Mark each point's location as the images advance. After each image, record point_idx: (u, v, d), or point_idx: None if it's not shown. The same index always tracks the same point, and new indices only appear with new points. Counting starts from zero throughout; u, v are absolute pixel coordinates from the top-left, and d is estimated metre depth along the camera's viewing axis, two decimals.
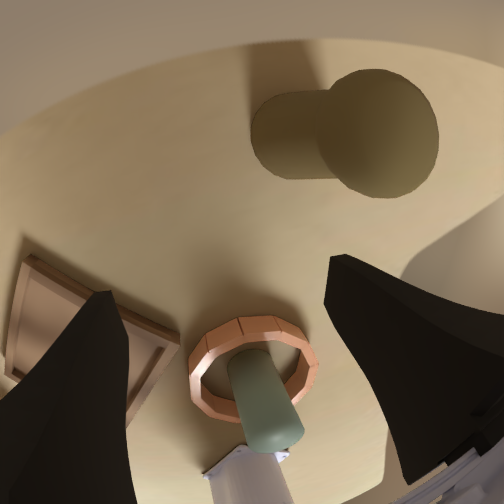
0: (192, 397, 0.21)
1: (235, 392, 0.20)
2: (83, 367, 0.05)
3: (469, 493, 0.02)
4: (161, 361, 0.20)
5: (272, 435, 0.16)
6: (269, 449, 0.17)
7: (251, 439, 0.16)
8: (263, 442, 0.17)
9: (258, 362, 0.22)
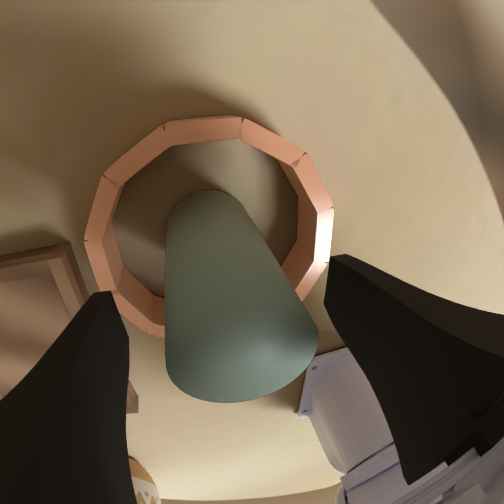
0: (141, 328, 0.13)
1: None
2: (83, 368, 0.05)
3: (469, 493, 0.02)
4: (65, 296, 0.12)
5: (219, 358, 0.07)
6: (261, 387, 0.08)
7: (180, 383, 0.07)
8: (221, 379, 0.07)
9: (186, 211, 0.11)
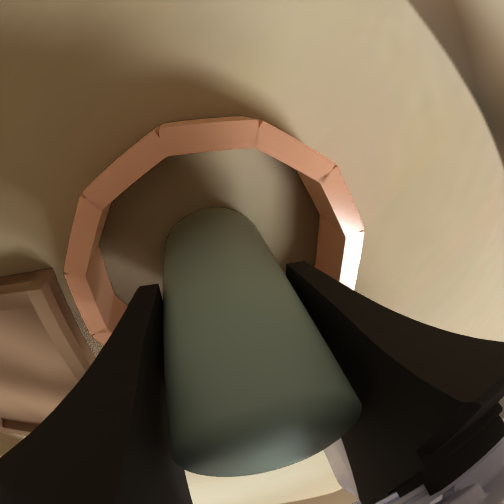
0: None
1: None
2: (146, 362, 0.05)
3: (469, 493, 0.02)
4: (50, 330, 0.10)
5: (240, 448, 0.05)
6: (286, 460, 0.06)
7: (190, 468, 0.05)
8: (240, 462, 0.05)
9: (187, 238, 0.09)
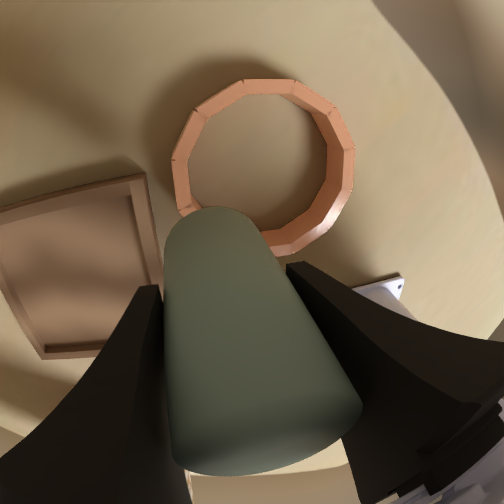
0: None
1: None
2: (146, 362, 0.05)
3: (469, 493, 0.02)
4: (139, 215, 0.16)
5: (240, 447, 0.05)
6: (286, 460, 0.06)
7: (190, 467, 0.05)
8: (241, 461, 0.05)
9: (187, 237, 0.09)
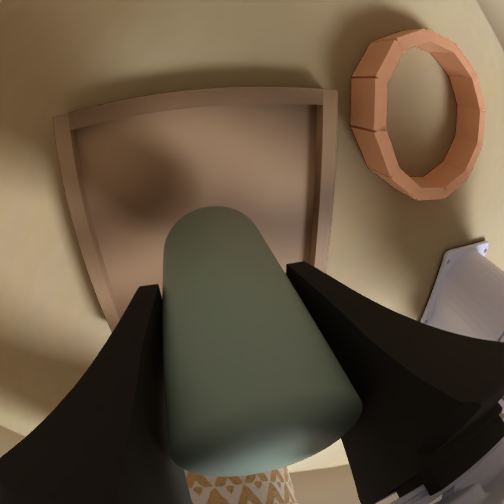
0: (389, 171, 0.14)
1: None
2: (146, 363, 0.05)
3: (469, 493, 0.02)
4: (326, 131, 0.13)
5: (239, 448, 0.05)
6: (286, 460, 0.06)
7: (189, 467, 0.05)
8: (240, 462, 0.05)
9: (187, 236, 0.09)
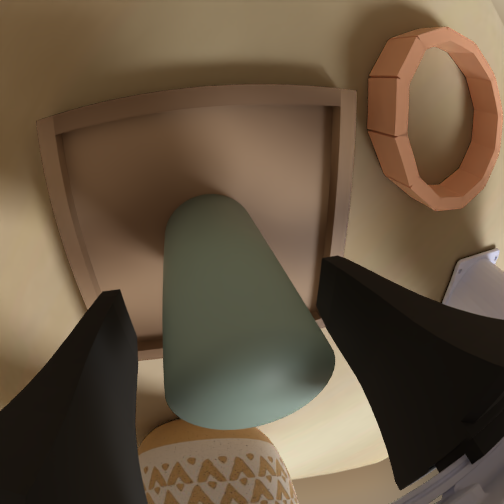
0: (409, 180, 0.12)
1: None
2: (94, 367, 0.05)
3: (469, 493, 0.02)
4: (344, 136, 0.11)
5: (225, 388, 0.06)
6: (270, 413, 0.07)
7: (181, 413, 0.06)
8: (227, 409, 0.06)
9: (185, 218, 0.10)
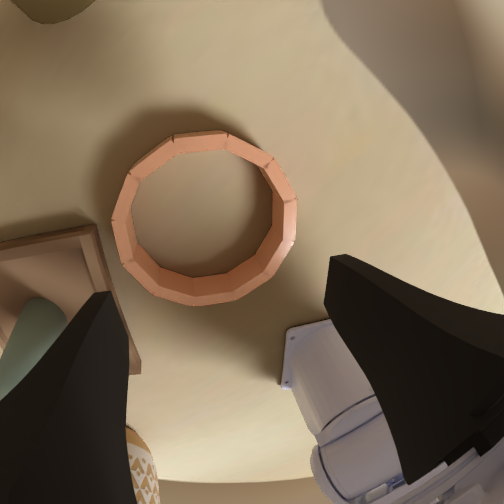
0: (149, 290, 0.17)
1: None
2: (82, 368, 0.05)
3: (469, 493, 0.02)
4: (90, 265, 0.16)
5: None
6: None
7: None
8: None
9: (19, 316, 0.15)
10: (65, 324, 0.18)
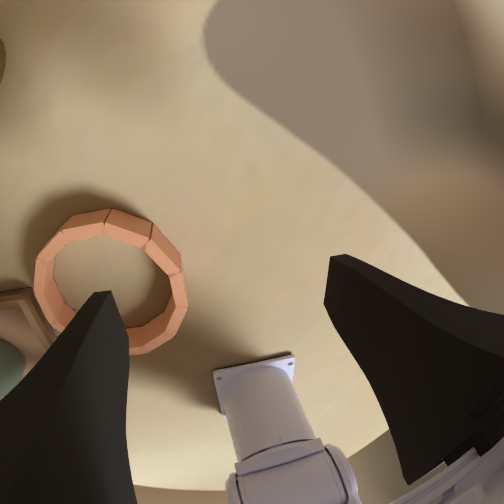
0: None
1: None
2: (82, 368, 0.05)
3: (469, 493, 0.02)
4: (30, 321, 0.17)
5: None
6: None
7: None
8: None
9: None
10: (23, 361, 0.18)
